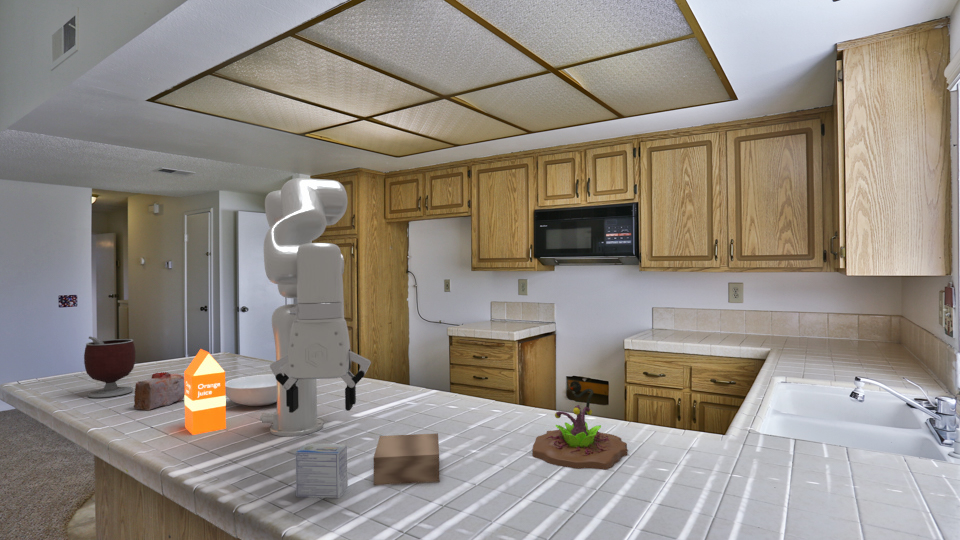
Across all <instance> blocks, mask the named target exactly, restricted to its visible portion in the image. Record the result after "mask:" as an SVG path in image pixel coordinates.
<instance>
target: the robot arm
mask: <svg viewBox="0 0 960 540" xmlns="http://www.w3.org/2000/svg"><path fill="white" fill-rule="evenodd" d="M347 208H348V194H347V191H346V188H345V186H344V185H343V184H342V183H341V182H339V181H338V180H334V179H320V178H307V177H297V178H291V179H289V180H288V181H286V182H285V183H284V184H283V185H282V187H281V189H279V190H274V191H271V192H269V193H267V194H266V197H265V199H264V212H265V217H266V220H267V221H266V222H267V224H268V226H269V229H268V230H267V232H266V234H265V237H264V239H263V240H264V241H263V262H264V271H265V276H266V277H267V279H268V280H269V281H270V282H271V283H272V284H275V285H277V290H278V293H279V295H281V296H282V297H283V298H285V299H297V301H296V302H297V303H289V304H284V305H281V306H279V307H277V308H276V309H275V310H274V311H273V313H272V316H271V326H272V327H271V328H272V333H273V339H274V345H275V361H274V362H272V363H271V364H270V365H269V368H270V370H271V372H272V374H274V375H275V377H276V380H277V402H276V411H274V412H273V413H270V412H262V413H260V417H259V419H260V422H261V424H268V423H271V424H272V425H271V426H270V428H269V429H270V431H269V432H270V433H271V434H272V435H274V436H277V437H298V436H304V435H310V434H313V433H315V432H317V431H318V432H319V430H321V429H322V428H323V427H324V420H323V419H322V418H321V419H320V418H318V414H317V413H318V409H317V408H318V404H317V402H318V399H317V395H318V392H317V390H318V389H317V380H324V379H329V380H330V379H332V380H333V379H341V380H342V381H343V382H344V383H345V384H346V387H345V388H344V400H345V401H344V403H345V404H344V406H345V408H344V409H345V410H346V411H351V409H352V408H354V407H353V405H356V403H357V401H356V400H357V395H356V393H357V390H356V388H357V387H356V386H357V384H358V383H359V382H360V381H361V380H362V379H363V378H364V377H365V375H366V374H367V371H368V370H369V367H370V365H371V360H370V359H369V358H366V357H364V356H362V355H360V354H357V353H356V352H354V351H352V350H351V342H350V335H349V328H348V325H347V323H348V322H347V320H346V319H345V307H344V306H345V305H344V304H345V303H344V302H345V301H344V297H345V296H344V281H343V279H344V278H343V274H344V270H345V259H344V255H343V254H342V252H341V248H340V247H339V245H338V244H334V243H329V242H312V241H315V240H317V239H318V238H320V236H322V235H323V234H324V232H325V231H326V228H327V226H332V225H335V224H337V223H338V222H339V221H340V220H341V219H342V217H344V216H345V213H346V211H347ZM353 362H354V363H355V364H358V365H359V366H360V367H359V370H358V372H357V373H356V374H355V375H354V374H353V373H352V372H351V369H352V363H353Z"/></svg>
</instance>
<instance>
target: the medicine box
mask: <svg viewBox="0 0 960 540" xmlns="http://www.w3.org/2000/svg"><path fill="white" fill-rule="evenodd" d="M294 454H295V492H296V493H295V495H296V497H297V498H298V497H300V498H301V497H304V498H333V499H334V498H336V499H339V498H341V496H343V494H344V493H345V492H346V491H347V490H348V488H349V481H348V480H349V479H348V446H347V444H345V443H305V444H303V445H302V446H301V447H300V448H299V449H297V451H296V452H295V453H294Z"/></svg>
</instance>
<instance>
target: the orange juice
mask: <svg viewBox="0 0 960 540" xmlns="http://www.w3.org/2000/svg"><path fill="white" fill-rule="evenodd" d="M183 373H184V376H183V377H184V383H185V395H184V428H185V429H186V430H187V431H188V432H189V433H190V434H191V435H192V436H194V435H200V434H205V433H210V432H211V433H212V432H216V431H220V430H226V429H227V414H226V413H227V409H226V406H227V401H226V400H227V398H226V397H227V396H226V394H225V382H226V371H225V370H224V368H222V366H221V365H220V364H219V362H217V360H216V359H215V358H214V357H213V356H212V355H211V353H210V352H209V351H207V350H204V349H202V348H200V349H199V351H198V352H197V353H196V355H195V357H193V359H192V360H191V362H190V363H189V365H188V367H187V368H186V369H185V370H184V371H183Z"/></svg>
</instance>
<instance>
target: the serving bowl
mask: <svg viewBox="0 0 960 540" xmlns="http://www.w3.org/2000/svg"><path fill="white" fill-rule="evenodd" d="M225 394H226V397H227V398H228V400H230V401H231V402H233V403H234V404H239V405H244V406H249V407H263V406H269V405H272V404H275V403H277V380H276V377H275V375H274V374H273V373H272V374H271V373H270V374H269V373H268V374H267V373H266V374H256V375H249V376H243V377H242V376H241V377H236V378H232V379H229V380H227V381H225Z"/></svg>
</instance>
